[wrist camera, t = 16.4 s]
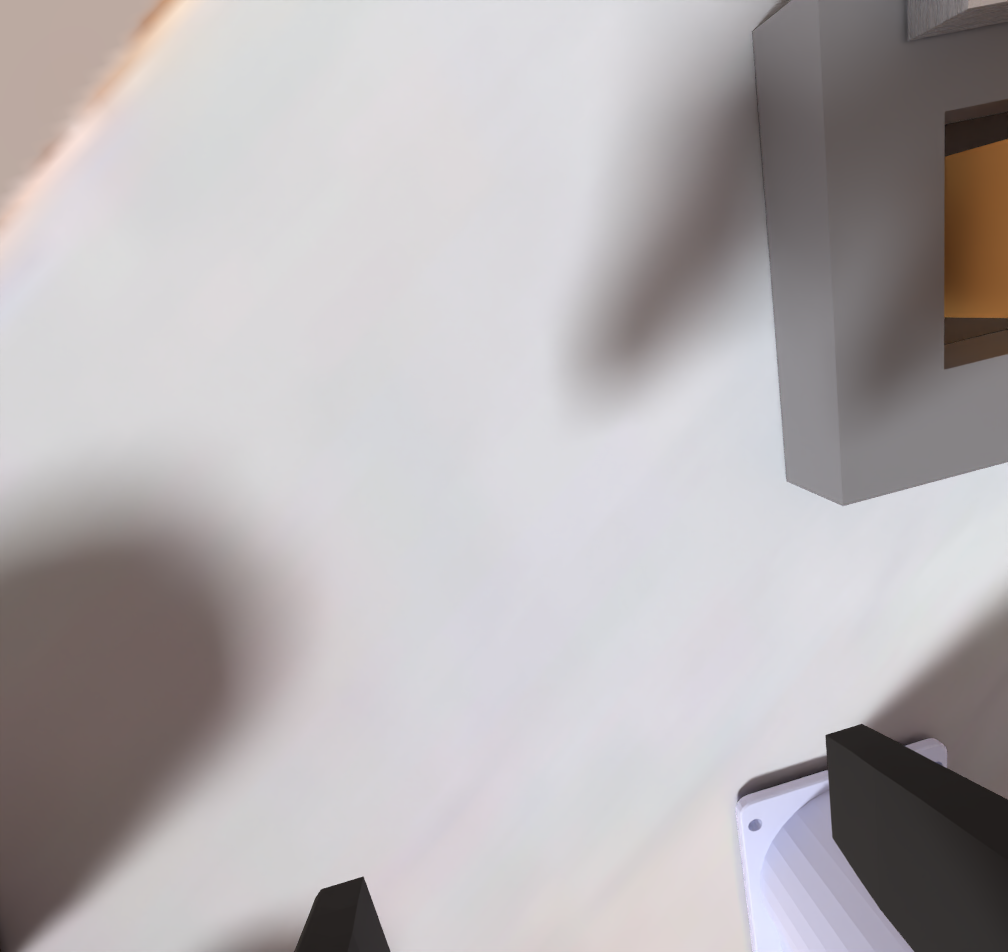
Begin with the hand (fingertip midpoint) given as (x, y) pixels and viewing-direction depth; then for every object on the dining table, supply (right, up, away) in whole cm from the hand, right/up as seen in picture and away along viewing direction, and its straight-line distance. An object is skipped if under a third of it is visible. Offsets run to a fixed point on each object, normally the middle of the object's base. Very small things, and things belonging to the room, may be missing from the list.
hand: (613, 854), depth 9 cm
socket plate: (+12, +13, +8) cm, 19 cm away
